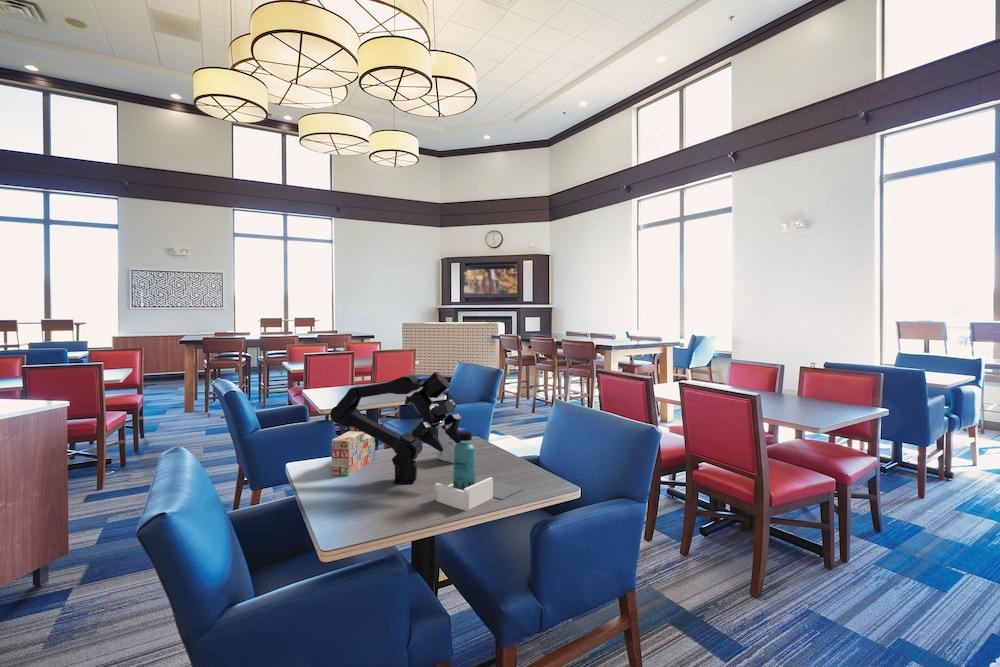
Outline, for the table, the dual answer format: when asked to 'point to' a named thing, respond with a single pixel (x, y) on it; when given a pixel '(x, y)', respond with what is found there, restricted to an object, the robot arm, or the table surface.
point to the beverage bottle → (464, 462)
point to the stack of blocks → (351, 452)
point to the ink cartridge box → (447, 445)
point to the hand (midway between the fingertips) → (451, 447)
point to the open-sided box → (465, 494)
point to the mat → (501, 488)
